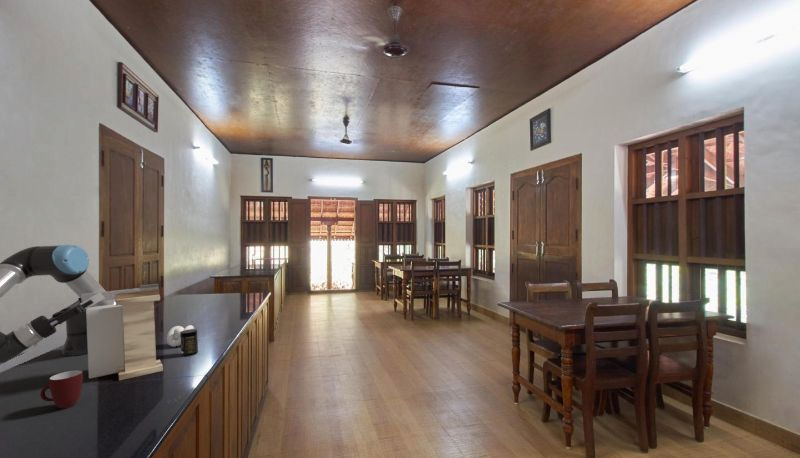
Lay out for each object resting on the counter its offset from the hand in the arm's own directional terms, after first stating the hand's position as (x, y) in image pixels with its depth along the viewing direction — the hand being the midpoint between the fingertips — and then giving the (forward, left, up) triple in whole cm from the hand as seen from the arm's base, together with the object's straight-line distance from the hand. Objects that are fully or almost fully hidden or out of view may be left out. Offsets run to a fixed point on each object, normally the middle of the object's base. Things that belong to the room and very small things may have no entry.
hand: (102, 292), depth 144 cm
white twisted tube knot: (-30, +30, -33) cm, 54 cm away
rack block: (-10, 0, -33) cm, 34 cm away
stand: (0, +11, -33) cm, 35 cm away
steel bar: (0, +6, -3) cm, 6 cm away
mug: (+20, -11, -33) cm, 40 cm away
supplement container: (-11, +30, -33) cm, 46 cm away
